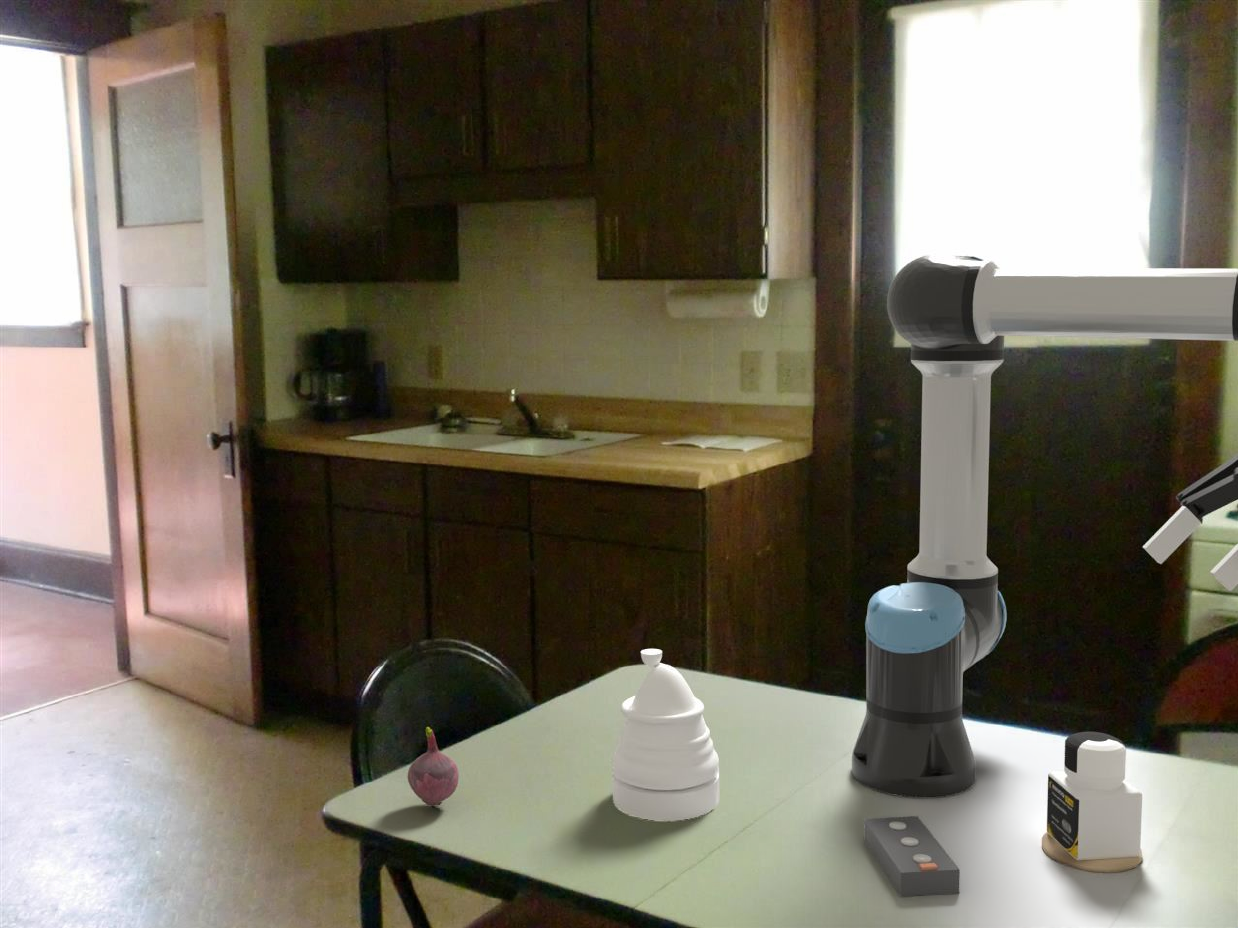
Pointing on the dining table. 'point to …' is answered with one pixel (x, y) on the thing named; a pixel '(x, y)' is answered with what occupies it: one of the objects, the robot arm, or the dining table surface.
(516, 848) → the dining table surface
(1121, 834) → the medicine bottle
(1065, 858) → the coaster
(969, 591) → the robot arm
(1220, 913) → the dining table surface
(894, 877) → the power strip
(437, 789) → the vegetable
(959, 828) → the dining table surface
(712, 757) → the honey pot
